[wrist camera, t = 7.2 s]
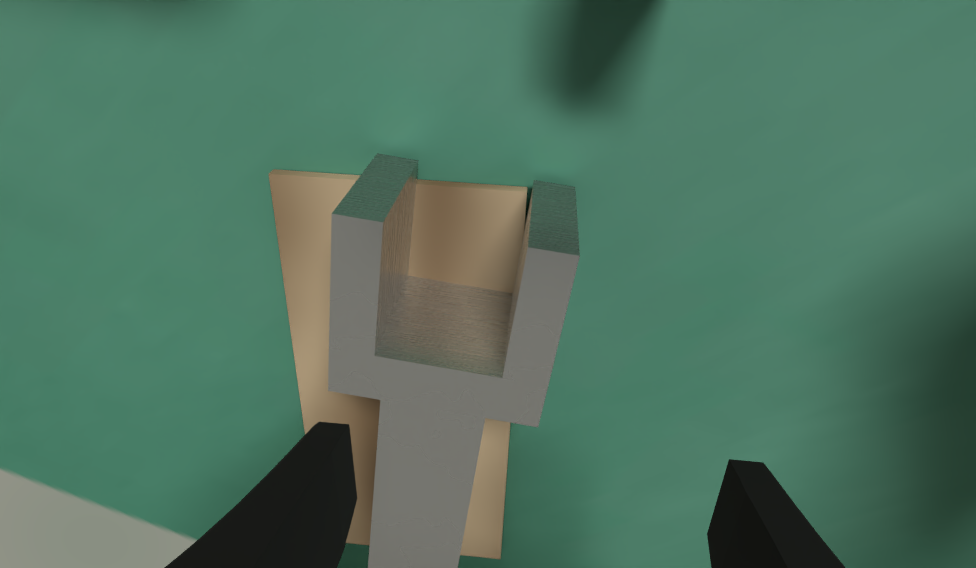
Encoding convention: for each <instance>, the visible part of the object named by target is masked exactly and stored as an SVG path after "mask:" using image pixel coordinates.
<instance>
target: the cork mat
mask: <svg viewBox="0 0 976 568" xmlns="http://www.w3.org/2000/svg"><path fill="white" fill-rule="evenodd" d="M360 176H361V175H346V174H332V173H318V172H303V171H289V170H275V169H274V170H272V171H271V172H270V173H269V179H270V187H271V194H272V201H273V208H274V215H275V222H276V229H277V237H278V244H279V251H280V258H281V265H282V272H283V280H284V287H285V294H286V301H287V308H288V315H289V323H290V330H291V337H292V344H293V351H294V358H295V365H296V373H297V380H298V387H299V394H300V401H301V408H302V416H303V423H304V430H305V434H306V433H307V432H308V431H309V430H310V429H311V428H312V427H313V426H314V425H315V424H316V423H318V422H329V423H340V424H349V426H350V435H351V445H352V454H353V463H354V472H355V481H356V491H357V502H356V506H355V510H354V513H353V517H352V521H351V525H350V529H349V533H348V536H347V540H346V543H353V544H362V545H370V533H371V519H372V506H373V493H374V479H375V466H376V452H377V439H378V425H379V412H380V400H378V399H372V398H367V397H361V396H355V395H349V394H343V393H338V392H332V391H328V366H329V317H330V268H331V219H332V212H333V211H334V210H335V208H336V207H337V206H338V205H339V203H340V202H341V201H342V199H343V198H344V197H345V195H346V194H347V193H348V191H349V190H350V189H351V187H352V186H353V185H354V183H355V182H356V181H357V180H358V178H359V177H360ZM526 200H527V187H518V186H504V185H489V184H475V183H461V182H446V181H432V180H418V179H417V182H416V193H415V204H414V215H413V226H412V237H411V248H410V259H409V270H408V275H409V276H414V277H420V278H426V279H432V280H438V281H444V282H449V283H455V284H461V285H467V286H473V287H479V288H484V289H490V290H496V291H502V292H508V293H513V288H514V283H515V277H516V272H517V267H518V261H519V256H520V251H521V246H522V240H523V235H524V228H525V214H526ZM509 435H510V422H505V421H499V420H493V419H488V418H485V423H484V428H483V434H482V439H481V445H480V450H479V455H478V461H477V466H476V471H475V477H474V482H473V488H472V493H471V498H470V504H469V509H468V515H467V520H466V525H465V531H464V536H463V541H462V547H461V552H460V555H465V556H475V557H484V558H494V559H500V558H501V545H502V532H503V518H504V504H505V490H506V476H507V463H508V449H509Z"/></svg>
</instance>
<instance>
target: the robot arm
mask: <svg viewBox="0 0 976 568" xmlns="http://www.w3.org/2000/svg"><path fill="white" fill-rule="evenodd" d="M356 502H357V491H356V481H355V472H354V463H353V454H352V445H351V435H350V426H349V424H340V423H329V422H318V423H316V424H315V425H314V426H313V427H312V428H311V429H310V430H309V431H308V432H307V433H306V434H305V435H304V437H303V438H302V439H301V440H300V441H299V442H298V443H297V444H296V445H295V446H294V447H293V448H292V449H291V450H290V452H289V453H288V454H287V455H286V456H285V457H284V458H283V459H282V460H281V461H280V462H279V463H278V464H277V465H276V466H275V467H274V468H273V469H272V470H271V471H270V472H269V473H268V474H267V475H266V476H265V477H264V478H263V479H262V480H261V481H260V482H259V483H258V484H257V485H256V486H255V487H254V488H253V489H252V490H251V491H250V492H249V493H248V494H247V495H246V496H245V497H244V498H243V499H242V500H241V501H240V502H239V503H238V504H237V505H236V506H235V507H234V508H233V509H232V510H231V511H230V512H228V513H227V514H226V515H225V516H224V517H223V518H222V519H221V520H220V521H218V522H217V523H216V524H215V525H214V526H213V527H212V528H211V529H210V530H208V531H207V532H206V533H205V534H204V535H203V536H202V537H201V538H200V539H198V540H197V541H196V542H195V543H194V544H193V545H192V546H190V547H189V548H188V549H187V550H186V551H184V552H183V553H182V554H181V555H180V556H178V557H177V558H176V559H175V560H173V561H172V562H171V563H170V564H169V565H167V566H166V567H165V568H337V566H338V563H339V561H340V558H341V556H342V553H343V550H344V547H345V543H346V540H347V536H348V533H349V529H350V525H351V521H352V517H353V513H354V510H355V506H356ZM707 536H708V544H709V552H710V559H711V567H712V568H845V567H844V565H843V564H842V563H841V562H840V560H839V559H838V558H837V557H836V556H835V554H834V553H833V552H832V551H831V550H830V548H829V547H828V546H827V545H826V543H825V542H824V541H823V540H822V538H821V537H820V536H819V535H818V533H817V532H816V531H815V530H814V528H813V527H812V526H811V524H810V523H809V522H808V521H807V519H806V518H805V517H804V515H803V514H802V513H801V511H800V510H799V509H798V508H797V506H796V505H795V504H794V502H793V501H792V500H791V498H790V497H789V496H788V494H787V493H786V492H785V490H784V489H783V488H782V486H781V485H780V484H779V482H778V481H777V480H776V478H775V477H774V476H773V475H772V473H771V472H770V471H769V469H768V468H767V467H766V466H765V464H764V463H762V462H752V461H741V460H730V459H729V462H728V465H727V468H726V472H725V475H724V479H723V482H722V485H721V489H720V492H719V496H718V499H717V502H716V506H715V509H714V513H713V516H712V519H711V523H710V526H709V530H708V533H707Z"/></svg>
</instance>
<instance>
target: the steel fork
mask: <svg viewBox="0 0 976 568" xmlns="http://www.w3.org/2000/svg"><path fill="white" fill-rule="evenodd" d="M417 171H418V160H413V159H407V158H401V157H395V156H389V155H383V154H378V153H377V155H376V156H375V157H374V158H373V160H372V161H371V162H370V164H369V165H368V166H367V168H366V169H365V170H364V172H363V173H362V174H361V176H360V177H359V178H358V180H357V181H356V182H355V183H354V185H353V186H352V187H351V189H350V190H349V191H348V193H347V194H346V195H345V197H344V198H343V199H342V201H341V202H340V203H339V205H338V206H337V207H336V208H335V210H334V211H333V212H332V219H331V268H330V317H329V366H328V391H332V392H338V393H343V394H349V395H355V396H361V397H367V398H372V399H378V400H380V412H379V425H378V439H377V452H376V466H375V479H374V493H373V506H372V519H371V533H370V546H369V560H368V568H458V563H459V558H460V552H461V547H462V541H463V536H464V531H465V525H466V520H467V515H468V509H469V504H470V498H471V493H472V488H473V482H474V477H475V471H476V466H477V461H478V455H479V450H480V445H481V439H482V434H483V428H484V423H485V418H488V419H493V420H499V421H505V422H511V423H516V424H522V425H528V426H534V427H538V425H539V421H540V417H541V413H542V409H543V405H544V401H545V397H546V393H547V388H548V384H549V380H550V376H551V372H552V368H553V364H554V360H555V356H556V351H557V347H558V343H559V339H560V335H561V331H562V327H563V323H564V319H565V314H566V310H567V306H568V302H569V298H570V294H571V290H572V286H573V282H574V277H575V273H576V269H577V265H578V261H579V257H580V252H579V237H578V222H577V206H576V191H575V187H572V186H566V185H560V184H555V183H549V182H543V181H537V180H534V182H533V187H532V193H531V198H530V203H529V209H528V214H527V219H526V224H525V230H524V235H523V240H522V246H521V251H520V256H519V261H518V267H517V272H516V277H515V283H514V288H513V293H508V292H502V291H496V290H490V289H484V288H479V287H473V286H467V285H461V284H455V283H449V282H444V281H438V280H432V279H426V278H420V277H414V276H409V275H408V270H409V259H410V248H411V237H412V226H413V215H414V204H415V193H416V182H417Z"/></svg>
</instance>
